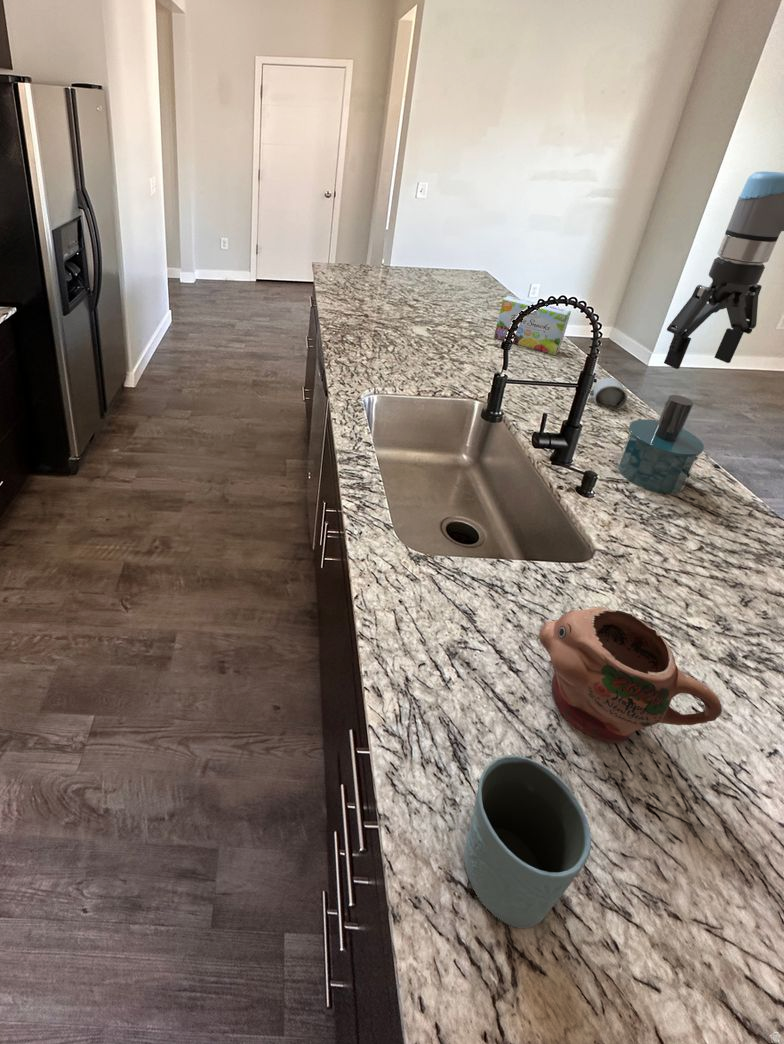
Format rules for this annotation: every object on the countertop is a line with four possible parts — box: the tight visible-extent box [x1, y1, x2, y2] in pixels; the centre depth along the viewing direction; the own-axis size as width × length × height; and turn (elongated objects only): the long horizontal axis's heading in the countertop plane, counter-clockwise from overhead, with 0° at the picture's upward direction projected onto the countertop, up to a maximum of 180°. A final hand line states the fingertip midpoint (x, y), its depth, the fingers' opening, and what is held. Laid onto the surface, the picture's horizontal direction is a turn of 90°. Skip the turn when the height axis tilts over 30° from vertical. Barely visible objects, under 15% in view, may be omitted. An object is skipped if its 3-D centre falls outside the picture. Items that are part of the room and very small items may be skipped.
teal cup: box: [463, 754, 592, 929], centre depth 55 cm, size 10×10×12 cm
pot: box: [617, 432, 700, 495], centre depth 119 cm, size 13×13×10 cm
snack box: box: [493, 295, 572, 356], centre depth 185 cm, size 21×6×15 cm, turn 49°
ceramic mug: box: [587, 377, 628, 410], centre depth 150 cm, size 11×8×8 cm
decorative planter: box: [538, 606, 723, 744], centre depth 70 cm, size 20×12×14 cm, turn 63°
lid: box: [628, 394, 705, 457], centre depth 115 cm, size 14×14×10 cm
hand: (696, 363), depth 109 cm, fingers open, 13 cm apart
